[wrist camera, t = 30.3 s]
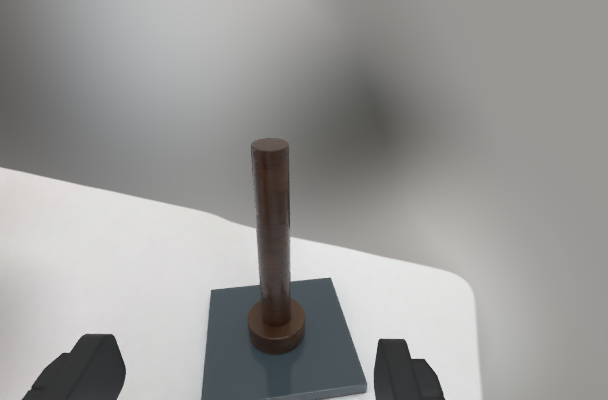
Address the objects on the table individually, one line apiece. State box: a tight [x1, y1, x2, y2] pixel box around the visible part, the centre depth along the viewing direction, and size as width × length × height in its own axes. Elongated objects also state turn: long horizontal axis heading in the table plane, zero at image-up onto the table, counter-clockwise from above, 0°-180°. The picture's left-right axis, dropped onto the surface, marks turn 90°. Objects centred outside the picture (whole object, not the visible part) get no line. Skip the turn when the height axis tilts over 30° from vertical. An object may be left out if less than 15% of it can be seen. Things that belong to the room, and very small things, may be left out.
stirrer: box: [247, 138, 305, 354], centre depth 22 cm, size 4×4×14 cm
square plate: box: [201, 278, 367, 400], centre depth 26 cm, size 10×10×1 cm
